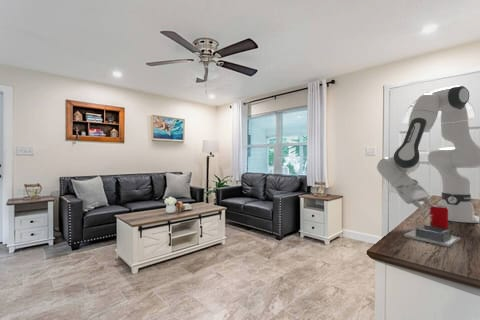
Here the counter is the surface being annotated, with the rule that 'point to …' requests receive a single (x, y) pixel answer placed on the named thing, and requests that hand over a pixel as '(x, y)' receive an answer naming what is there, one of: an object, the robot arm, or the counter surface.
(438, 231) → the grey socket base
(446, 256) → the counter surface
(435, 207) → the beverage can
